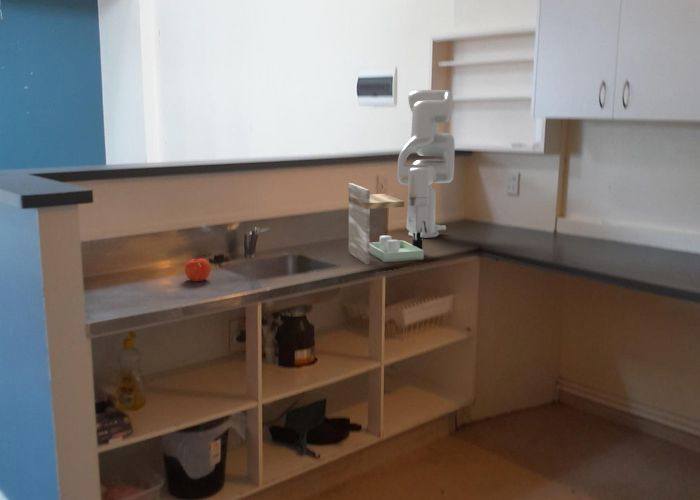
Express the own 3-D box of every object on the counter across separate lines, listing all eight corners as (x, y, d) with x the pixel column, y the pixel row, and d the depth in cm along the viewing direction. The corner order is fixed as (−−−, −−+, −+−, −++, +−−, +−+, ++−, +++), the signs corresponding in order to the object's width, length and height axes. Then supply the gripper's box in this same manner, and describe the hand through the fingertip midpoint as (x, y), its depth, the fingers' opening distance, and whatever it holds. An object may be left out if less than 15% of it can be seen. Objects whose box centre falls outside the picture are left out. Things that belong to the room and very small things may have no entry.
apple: (213, 282, 224) (212, 257, 223) (187, 284, 221) (186, 259, 220) (208, 276, 232) (206, 252, 230) (183, 278, 228) (181, 254, 227)
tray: (403, 248, 272) (403, 240, 271) (423, 259, 254) (423, 250, 254) (366, 251, 268) (366, 242, 267) (384, 262, 250) (384, 253, 249)
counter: (383, 250, 270) (384, 181, 265) (403, 261, 252) (404, 188, 246) (348, 252, 266) (348, 183, 260) (366, 264, 247) (366, 190, 242)
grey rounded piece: (388, 249, 267) (389, 235, 265) (393, 252, 263) (393, 237, 261) (377, 250, 265) (378, 235, 264) (381, 252, 261) (382, 238, 260)
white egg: (396, 254, 259) (396, 239, 258) (401, 256, 255) (401, 241, 254) (385, 254, 258) (385, 240, 257) (389, 257, 254) (389, 242, 253)
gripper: (401, 199, 265) (400, 247, 269) (417, 204, 251) (416, 255, 255) (419, 198, 268) (418, 245, 272) (436, 203, 254) (435, 253, 258)
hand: (417, 250), depth 263 cm, fingers closed
